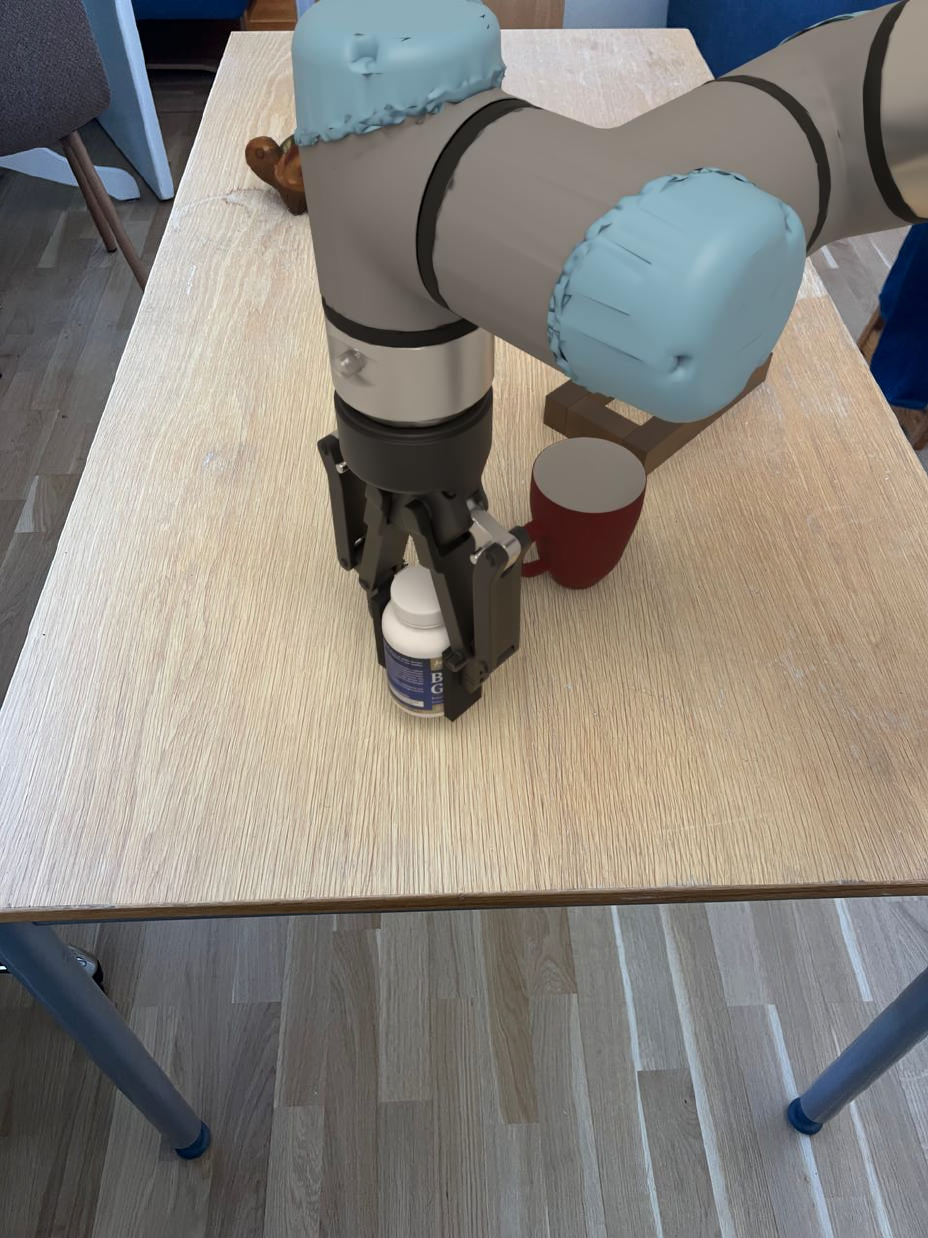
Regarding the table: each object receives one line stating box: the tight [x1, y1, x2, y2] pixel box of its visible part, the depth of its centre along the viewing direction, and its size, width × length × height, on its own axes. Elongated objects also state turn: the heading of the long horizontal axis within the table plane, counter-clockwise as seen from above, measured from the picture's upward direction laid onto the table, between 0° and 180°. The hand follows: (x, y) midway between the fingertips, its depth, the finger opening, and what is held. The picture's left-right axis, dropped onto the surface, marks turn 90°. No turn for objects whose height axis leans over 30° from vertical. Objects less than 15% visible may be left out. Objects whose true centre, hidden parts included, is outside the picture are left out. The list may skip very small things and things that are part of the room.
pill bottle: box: [382, 563, 450, 719], centre depth 58 cm, size 5×5×10 cm
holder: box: [542, 352, 774, 476], centre depth 86 cm, size 11×20×3 cm, turn 136°
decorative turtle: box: [244, 133, 307, 215], centre depth 108 cm, size 10×15×8 cm, turn 108°
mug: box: [521, 437, 648, 590], centre depth 69 cm, size 10×8×10 cm
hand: (429, 679), depth 62 cm, fingers closed on pill bottle, 5 cm apart
